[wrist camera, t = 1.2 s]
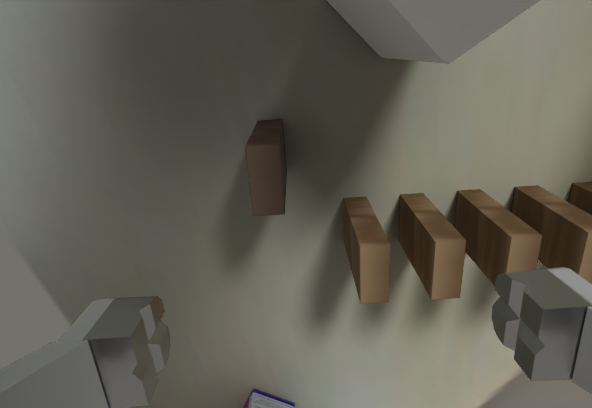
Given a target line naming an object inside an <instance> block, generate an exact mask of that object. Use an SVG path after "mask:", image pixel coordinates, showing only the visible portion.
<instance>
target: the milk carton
mask: <svg viewBox="0 0 592 408" xmlns="http://www.w3.org/2000/svg"><path fill="white" fill-rule="evenodd" d="M326 1H327V2H328V3H329V4H330V5H331V6H332V7H333V8H334V9H335V10H336V11H337V12H338V13H339V14H340V15H341V16H342V17H343V18H344V20H345V21H346V22H347V23H348V24H349V25H350V26H351V27H352V28H353V29H354V30H355V31H356V32H357V33H358V34H359V35H360V36H361V37H362V38H363V39H364V40H365V42H366V43H367V44H368V45H369V46H370V47H371V48H372V49H373V50H374V51H375V52H376V53H377V54H378V55H379V56H380V57H381V58H389V59H401V60H413V61H425V62H436V63H446V64H449V63H450V62H452V61H453V60H455V59H456V58H457V57H459V56H460V55H462V54H463V53H465V52H466V51H468V50H469V49H471V48H472V47H473V46H475V45H476V44H478V43H479V42H481V41H482V40H484V39H485V38H486V37H488V36H489V35H491V34H492V33H494V32H495V31H497V30H498V29H499V28H501V27H502V26H504V25H505V24H507V23H508V22H510V21H511V20H512V19H514V18H515V17H517V16H518V15H520V14H521V13H523V12H524V11H525V10H527V9H528V8H530V7H531V6H533V5H534V4H536V3H537V2H538V1H540V0H326Z"/></svg>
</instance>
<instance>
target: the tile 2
mask: <svg viewBox="0 0 592 408" xmlns="http://www.w3.org/2000/svg"><path fill="white" fill-rule="evenodd" d="M343 200H344V242H345V248H346V251H347V255H348V259H349V262H350V266H351V270H352V274H353V277H354V281H355V285H356V288H357V292H358V296H359V300H360V303H361V304H367V303H383V302H389V282H390V243H389V241H388V239H387V237H386V235H385V233H384V231H383V229H382V227H381V225H380V223H379V221H378V219H377V217H376V215H375V213H374V211H373V209H372V207H371V206H370V204H369V202H368V200H367V198H366V197H356V198H343Z"/></svg>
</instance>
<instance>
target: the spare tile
mask: <svg viewBox="0 0 592 408" xmlns="http://www.w3.org/2000/svg"><path fill="white" fill-rule="evenodd" d="M245 149H246V157H247V166H248V174H249V183H250V191H251V200H252V208H253V216H264V215H279V214H285V196H286V176H287V170H286V157H285V145H284V132H283V120H282V119H277V120H263V121H258V122H257V124H256V126H255V128H254V130H253V132H252V134H251V136H250V138H249V140H248V142H247V144H246V146H245Z"/></svg>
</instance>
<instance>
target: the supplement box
mask: <svg viewBox="0 0 592 408" xmlns="http://www.w3.org/2000/svg"><path fill="white" fill-rule="evenodd" d="M243 408H295V403H293V402H291V401H288V400H285V399H282V398H279V397H276V396H273V395H270V394H268V393H265V392H262V391H259V390H256V389H254V390H253V391H252V393H251V395H250V397H249V399H248V401H247V402H246V404H245V406H244V407H243Z"/></svg>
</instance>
